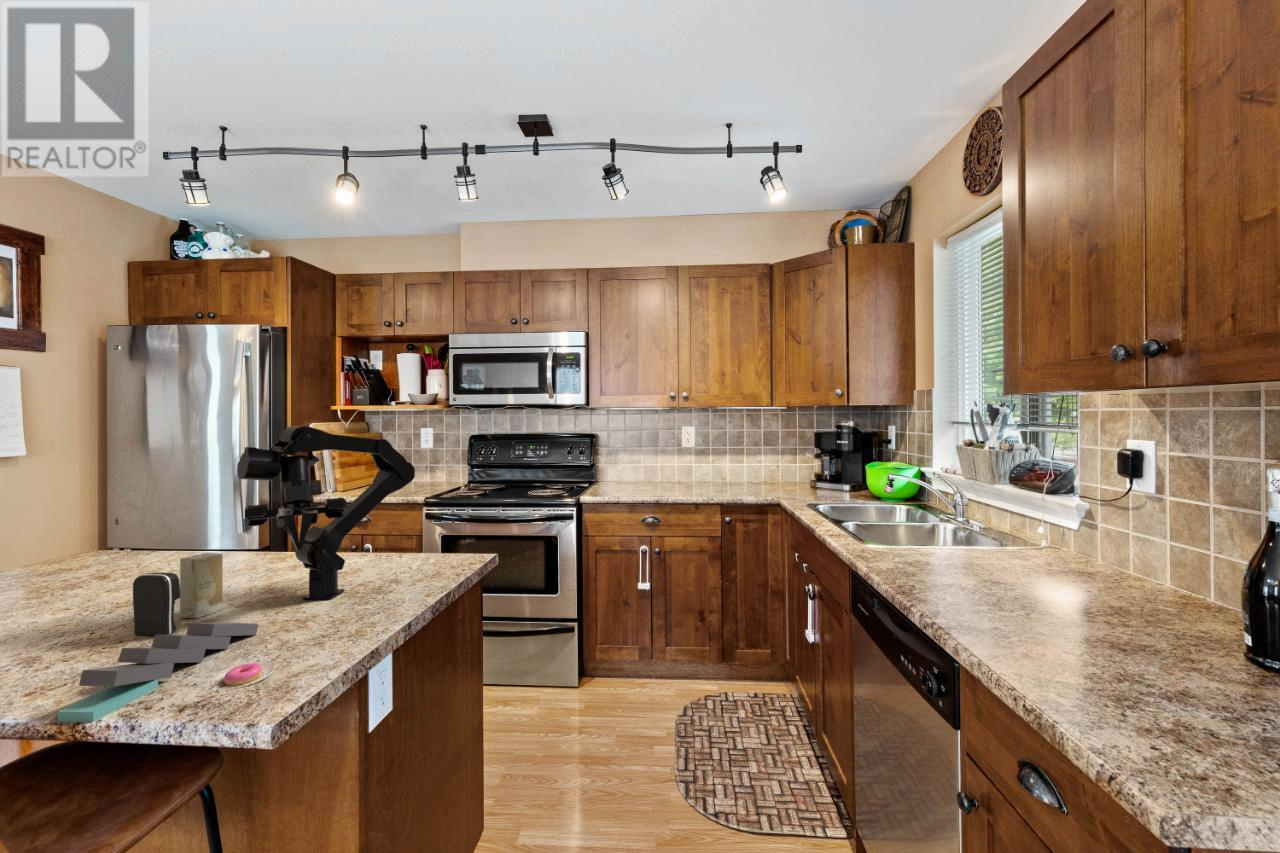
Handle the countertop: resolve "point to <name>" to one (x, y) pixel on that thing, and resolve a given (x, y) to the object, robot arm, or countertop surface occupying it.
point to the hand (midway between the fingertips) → (299, 550)
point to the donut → (246, 673)
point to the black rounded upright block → (155, 603)
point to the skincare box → (201, 585)
